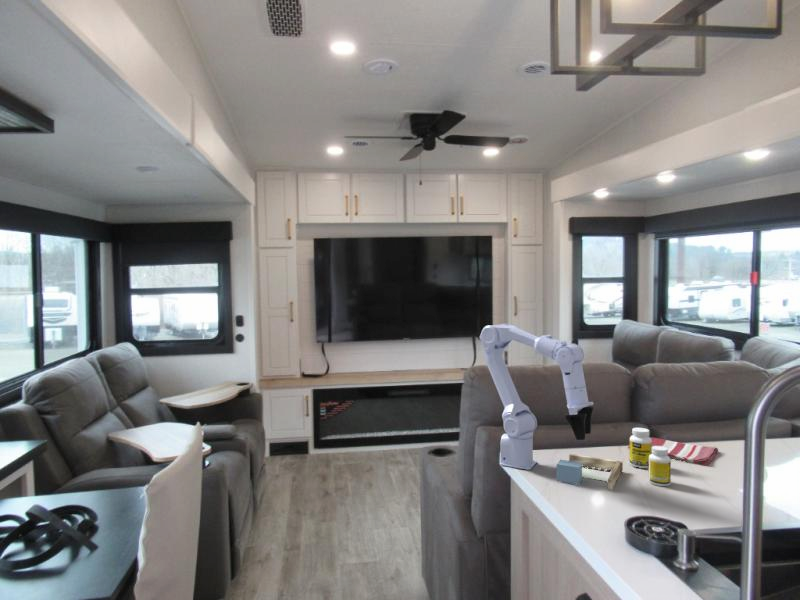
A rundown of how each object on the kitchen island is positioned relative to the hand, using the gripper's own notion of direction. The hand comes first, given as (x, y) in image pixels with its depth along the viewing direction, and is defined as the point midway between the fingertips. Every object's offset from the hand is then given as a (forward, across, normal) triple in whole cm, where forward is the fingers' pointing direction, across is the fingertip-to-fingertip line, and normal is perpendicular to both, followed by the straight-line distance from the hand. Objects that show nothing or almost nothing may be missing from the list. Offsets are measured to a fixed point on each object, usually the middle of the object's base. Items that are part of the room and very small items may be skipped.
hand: (583, 436), depth 141 cm
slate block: (+12, 0, +6) cm, 14 cm away
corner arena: (+13, +6, +2) cm, 14 cm away
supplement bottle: (+16, +10, -16) cm, 24 cm away
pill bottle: (+14, +22, -10) cm, 28 cm away
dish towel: (+15, +41, -17) cm, 47 cm away
